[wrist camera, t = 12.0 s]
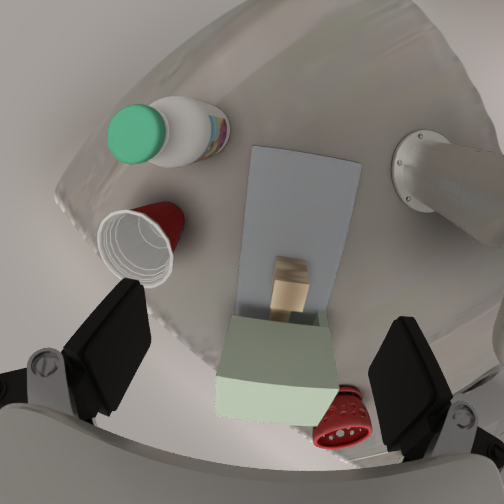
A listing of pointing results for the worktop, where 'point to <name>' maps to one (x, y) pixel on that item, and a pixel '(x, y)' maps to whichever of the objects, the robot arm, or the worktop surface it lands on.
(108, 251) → the plastic cup
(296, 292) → the block
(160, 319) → the worktop surface
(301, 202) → the board
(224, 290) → the worktop surface
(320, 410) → the shelf block
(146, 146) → the milk bottle
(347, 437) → the plant pot
